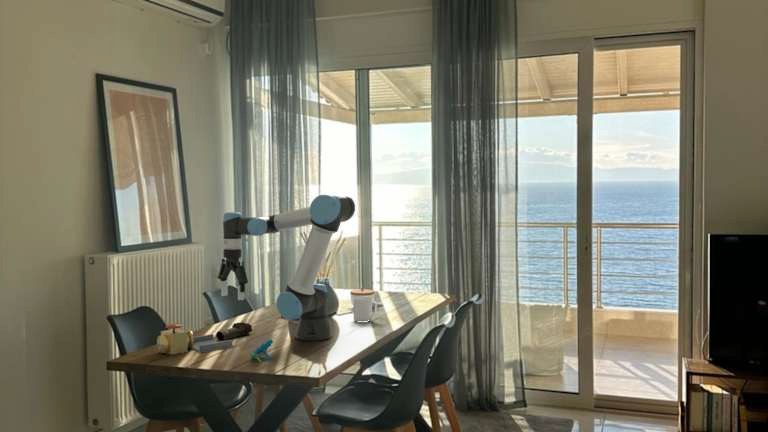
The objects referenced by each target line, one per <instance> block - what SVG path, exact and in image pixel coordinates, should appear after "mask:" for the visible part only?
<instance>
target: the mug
mask: <svg viewBox="0 0 768 432" xmlns="http://www.w3.org/2000/svg"><path fill="white" fill-rule="evenodd" d="M373 304H374V313H373ZM352 306H353V309H352V310H353V320H354V321H355V322H356V321H368V320H371V319H372V320H373V317H375V316H376V315H377V313H378V312H377V311H378V302H376V301H375V300H373V302H372V297H366V296H360V297H354V298H353V304H352ZM372 320H371V321H372Z"/></svg>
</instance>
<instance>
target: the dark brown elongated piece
mask: <svg viewBox="0 0 768 432" xmlns="http://www.w3.org/2000/svg"><path fill="white" fill-rule="evenodd" d="M253 331H254V330H253V325H252V324H249V323H248V322H236V323H235V322H234V323H233V325H232V326H231V328H226V329H222V330H219V331H217V332H216V334H215V336H216V337H215V338H216V340H218V341H221V342H222V341H227V340H232V339H233V338H237V337H243V336H250V335H249V334H250V333H251V332H253Z"/></svg>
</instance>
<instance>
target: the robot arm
mask: <svg viewBox="0 0 768 432" xmlns="http://www.w3.org/2000/svg"><path fill="white" fill-rule="evenodd" d="M355 213H356V204H355V201H354V199H353V198H352V197H351V196H350V195H348V194H346V193H329V192H328V193H323V194H319V195H318V196H317V195H316V197H314V199H313V200H312V201H311V203H310V206H307V207H303V208H298V209H294V210H289V211H286V212H281V213H277V214H272V215H267V216H255V217H248V216H247V217H242V213H241V212H237V211H235V212H234V211H232V212H231V211H230V212H224V213H223V219H222V220H223V221H222V227H223V242H222V243H223V248H224V249H223V251H222V252H223V258H221V265H220V269H219V273H218V276H217V279H218V280H220V283H221V284H220V285H221V287H220V288H221V290H220V292H221V293H220V294H221V296H220V297H227V296H228V294H229V291H228V290H229V289H228V288H229V287H228V285H229V284H228V277H229V275H230V273H231V271H232V273H234V274H235V277H236V279H237V282H238V284H237V300H238V301H243V300H245V299H246V298H245V292H246V291H245V290H246V289H245V285H246V284H248V283H249V281H248V280H249V279H248V277H247V273H246V270H245V268H246V267H245V263H244V260H240V258H242V236H254V237H258V236H259V237H260V236H263V235H266V234H271V235H272V234H276V233H278V232H281V231H288V230H292V229H295V228H296V229H297V228H301V227H306V226H310V225H311V228H310V232H309V235H308V238H307V239H306V242H305V245H304V248H303V252H302V255H301V257H300V260H299V263H298V265H297V268H296V270H295V273H294V277H293V279H292V280H289V281H288V283H287V285H286V287H285V290H284V291H283V292H281V293H280V294H279V295H278V296H277V298H276V303H275V305H276V309H277V311H278V313H279V315H280V317H281V316H282V317H281V318H284V319H286V320H290V321H292V320H299V321H298V324H297V327H296V331H295V339H297V340H300V341H314V342H315V341H325V340H328V339H330V338H331V337H332V329H331V327H330V323H329V321H328V316H327V302H328V291H327V289H328V288H327V285H326V284H323V283H316V280H317V277H318V275H319V272H320V269H321V266H322V264H323V261H324V258H325V256H326V252H327V250H328V247H329V245H330V241H331V239H332V236H333V234H336V233H337V232H338V230H339V228H340V225H341V223H344V222H347V221H349V220H350V219H351V218H352V217H353V216H354V214H355ZM298 318H300V319H298Z"/></svg>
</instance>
